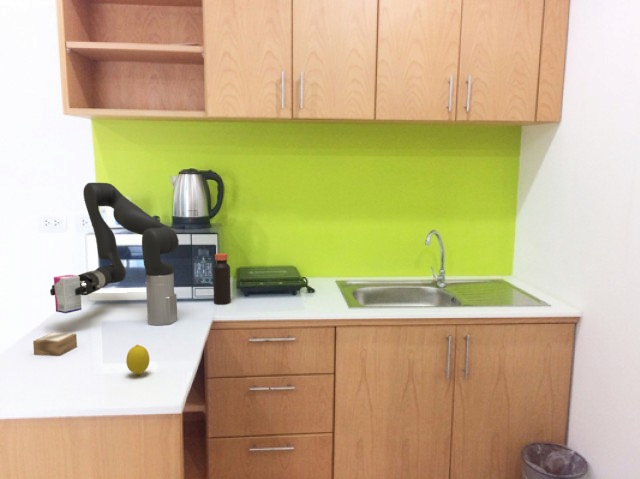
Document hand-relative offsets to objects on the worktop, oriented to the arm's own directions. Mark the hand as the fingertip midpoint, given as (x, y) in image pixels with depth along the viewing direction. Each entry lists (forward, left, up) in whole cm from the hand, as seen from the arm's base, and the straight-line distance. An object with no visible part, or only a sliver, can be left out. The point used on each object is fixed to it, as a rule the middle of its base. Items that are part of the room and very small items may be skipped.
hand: (64, 292), depth 163 cm
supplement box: (0, -2, -7) cm, 7 cm away
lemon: (-41, +30, -14) cm, 52 cm away
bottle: (-37, -47, -14) cm, 61 cm away
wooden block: (-8, +16, -14) cm, 22 cm away
